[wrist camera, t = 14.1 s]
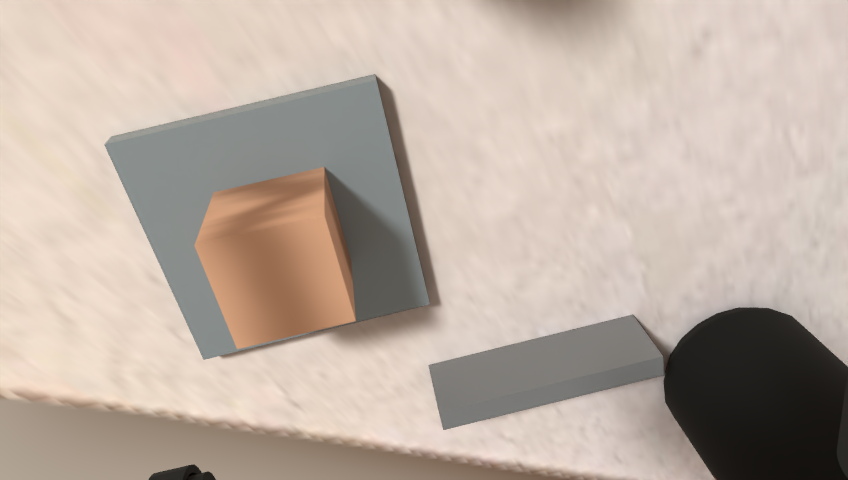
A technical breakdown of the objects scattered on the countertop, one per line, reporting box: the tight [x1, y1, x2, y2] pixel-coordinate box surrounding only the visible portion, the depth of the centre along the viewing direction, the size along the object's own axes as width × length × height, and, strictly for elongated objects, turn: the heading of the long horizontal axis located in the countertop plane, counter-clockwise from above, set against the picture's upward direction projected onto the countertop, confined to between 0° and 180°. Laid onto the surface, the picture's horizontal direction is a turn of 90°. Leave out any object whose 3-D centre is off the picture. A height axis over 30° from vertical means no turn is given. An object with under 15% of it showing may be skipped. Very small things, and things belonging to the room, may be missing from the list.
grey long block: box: [429, 315, 664, 430], centre depth 43 cm, size 14×4×4 cm, turn 101°
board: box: [104, 74, 430, 360], centre depth 37 cm, size 14×14×1 cm
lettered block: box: [194, 167, 356, 349], centre depth 34 cm, size 6×6×6 cm
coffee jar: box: [664, 308, 848, 480], centre depth 40 cm, size 11×11×18 cm
